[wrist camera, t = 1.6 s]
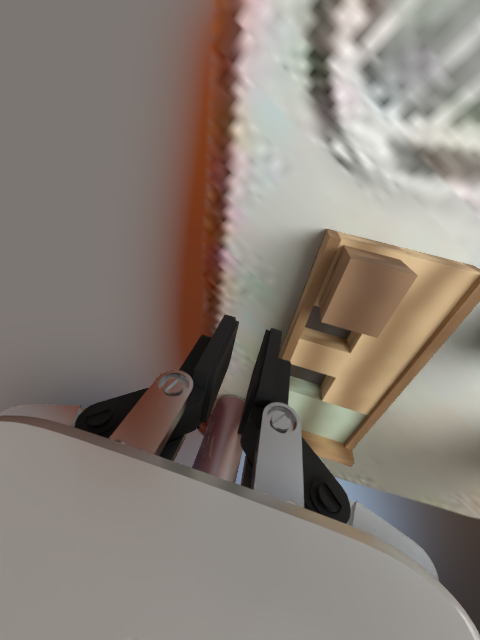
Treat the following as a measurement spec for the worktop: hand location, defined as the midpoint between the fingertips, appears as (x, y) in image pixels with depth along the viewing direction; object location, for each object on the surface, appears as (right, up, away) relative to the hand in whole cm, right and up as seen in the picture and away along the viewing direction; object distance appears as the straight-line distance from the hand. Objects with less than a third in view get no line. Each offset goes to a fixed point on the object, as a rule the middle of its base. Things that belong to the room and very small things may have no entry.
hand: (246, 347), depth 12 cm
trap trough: (+12, -3, +19) cm, 23 cm away
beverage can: (-1, -13, +29) cm, 32 cm away
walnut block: (+11, +5, +11) cm, 16 cm away
